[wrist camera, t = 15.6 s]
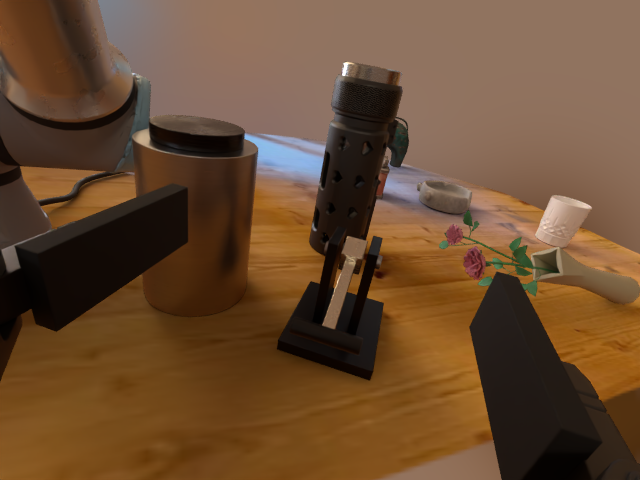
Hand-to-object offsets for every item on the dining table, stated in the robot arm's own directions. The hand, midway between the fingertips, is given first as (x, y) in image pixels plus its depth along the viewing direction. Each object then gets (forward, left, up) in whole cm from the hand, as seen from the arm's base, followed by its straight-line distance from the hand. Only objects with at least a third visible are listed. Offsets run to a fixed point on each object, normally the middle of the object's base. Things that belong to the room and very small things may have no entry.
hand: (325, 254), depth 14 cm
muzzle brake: (-39, +10, -20) cm, 45 cm away
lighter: (-71, +24, -20) cm, 78 cm away
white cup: (-53, +63, -20) cm, 85 cm away
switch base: (-18, +7, -20) cm, 28 cm away
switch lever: (-14, +5, -12) cm, 19 cm away
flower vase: (-29, +40, -20) cm, 53 cm away
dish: (-69, +42, -20) cm, 83 cm away
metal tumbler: (-24, -10, -20) cm, 33 cm away
